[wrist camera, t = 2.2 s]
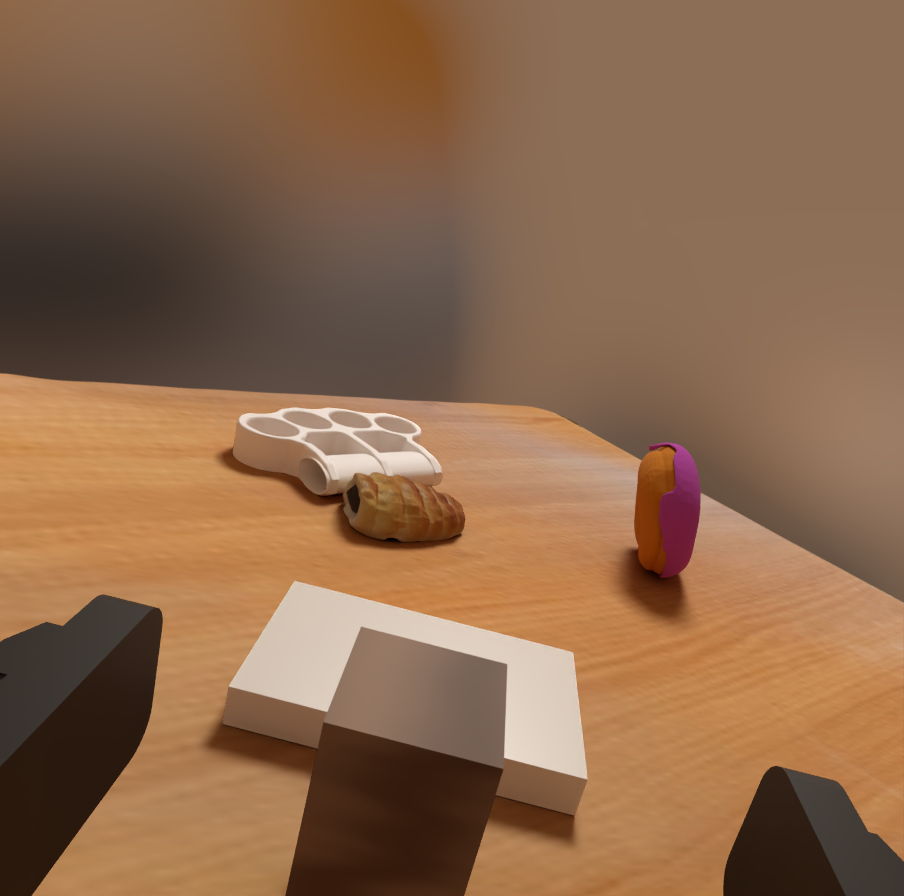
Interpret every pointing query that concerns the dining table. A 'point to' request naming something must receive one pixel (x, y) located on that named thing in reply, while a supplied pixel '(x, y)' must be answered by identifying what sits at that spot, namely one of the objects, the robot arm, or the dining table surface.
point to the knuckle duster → (334, 447)
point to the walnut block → (402, 772)
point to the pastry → (400, 509)
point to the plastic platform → (341, 616)
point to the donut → (667, 509)
